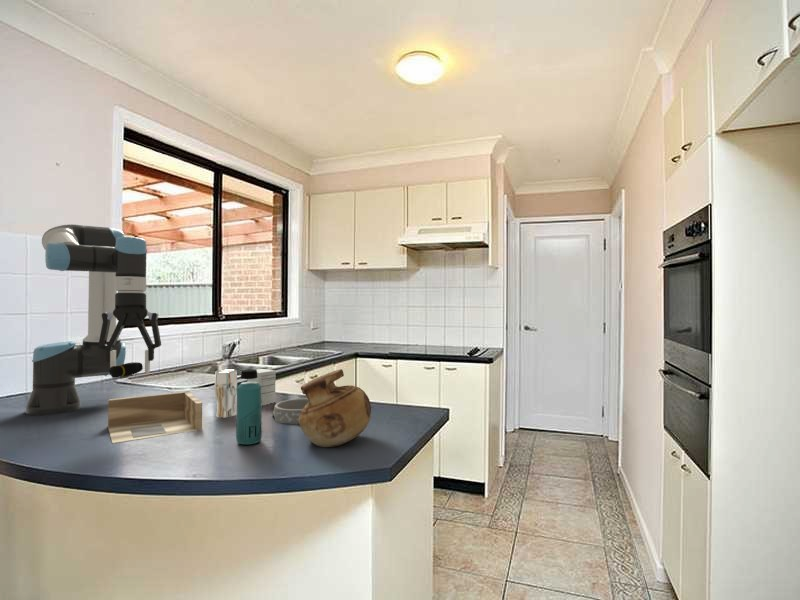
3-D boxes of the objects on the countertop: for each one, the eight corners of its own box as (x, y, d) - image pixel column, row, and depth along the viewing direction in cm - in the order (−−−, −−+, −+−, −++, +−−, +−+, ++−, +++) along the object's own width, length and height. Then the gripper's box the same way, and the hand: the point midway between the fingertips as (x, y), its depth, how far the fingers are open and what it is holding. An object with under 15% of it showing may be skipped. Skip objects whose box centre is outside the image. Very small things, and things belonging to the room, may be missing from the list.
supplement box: (246, 405, 163) (246, 370, 163) (262, 401, 169) (263, 368, 169) (259, 408, 159) (259, 372, 159) (276, 404, 165) (276, 370, 165)
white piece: (209, 418, 145) (209, 371, 145) (225, 413, 152) (225, 368, 152) (226, 420, 142) (226, 373, 142) (241, 415, 149) (242, 370, 149)
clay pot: (308, 434, 129) (309, 364, 129) (373, 435, 128) (374, 364, 128) (290, 457, 110) (290, 375, 110) (366, 458, 109) (367, 375, 109)
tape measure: (145, 372, 127) (142, 359, 127) (129, 377, 120) (126, 364, 120) (122, 376, 128) (120, 364, 128) (105, 382, 121) (102, 368, 121)
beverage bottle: (247, 452, 113) (247, 372, 113) (230, 447, 117) (230, 370, 117) (267, 445, 119) (267, 369, 119) (250, 440, 122) (251, 367, 122)
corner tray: (108, 427, 134) (108, 399, 134) (188, 416, 147) (188, 391, 147) (112, 445, 118) (112, 413, 118) (202, 431, 131) (202, 402, 131)
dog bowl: (277, 430, 133) (277, 412, 133) (269, 416, 150) (269, 399, 150) (334, 424, 140) (334, 407, 140) (319, 411, 157) (319, 395, 157)
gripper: (83, 291, 120) (82, 377, 120) (169, 292, 127) (168, 373, 127) (92, 292, 127) (92, 372, 127) (173, 292, 134) (173, 369, 134)
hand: (130, 373), depth 127 cm, fingers closed on tape measure, 8 cm apart
